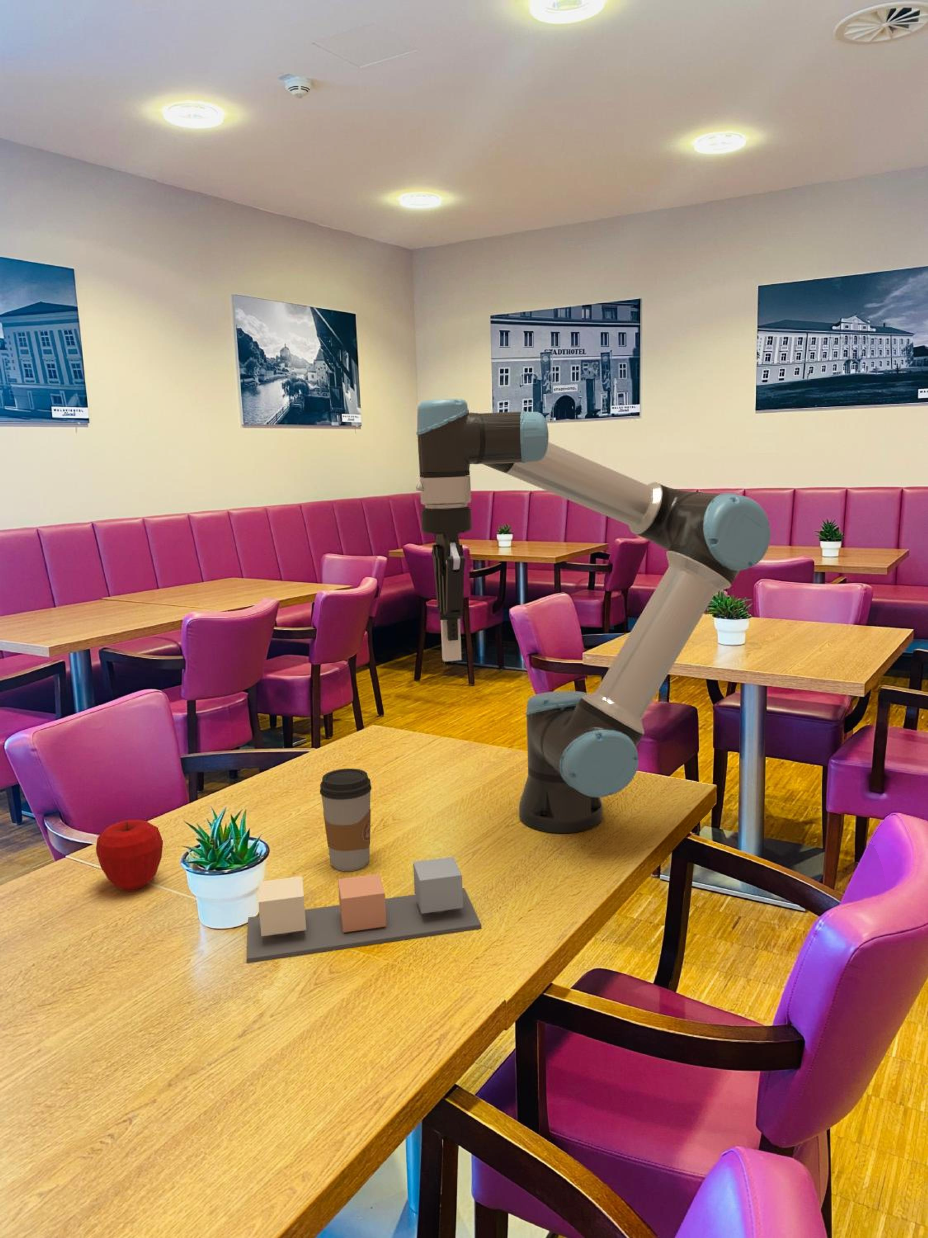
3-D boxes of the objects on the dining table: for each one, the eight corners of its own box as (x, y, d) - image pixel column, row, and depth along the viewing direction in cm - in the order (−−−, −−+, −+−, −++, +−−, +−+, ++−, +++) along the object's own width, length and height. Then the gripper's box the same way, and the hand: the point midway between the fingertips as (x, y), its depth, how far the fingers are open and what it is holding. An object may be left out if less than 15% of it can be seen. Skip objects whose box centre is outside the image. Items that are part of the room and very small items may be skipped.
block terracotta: (381, 905, 129) (379, 873, 128) (386, 926, 123) (384, 893, 122) (339, 911, 127) (337, 879, 127) (343, 932, 122) (341, 899, 121)
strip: (464, 891, 134) (463, 879, 134) (481, 928, 123) (480, 915, 123) (248, 921, 127) (247, 908, 127) (246, 963, 117) (245, 949, 116)
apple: (179, 877, 142) (173, 813, 140) (134, 905, 133) (127, 837, 131) (133, 867, 146) (126, 804, 144) (86, 893, 137) (79, 827, 135)
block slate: (454, 888, 131) (453, 856, 130) (463, 907, 125) (462, 875, 124) (414, 893, 129) (413, 862, 129) (421, 913, 124) (419, 880, 123)
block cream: (304, 908, 126) (302, 876, 125) (306, 930, 120) (303, 896, 119) (261, 914, 125) (258, 881, 124) (261, 936, 119) (258, 902, 118)
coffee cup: (366, 876, 140) (361, 787, 137) (316, 873, 141) (311, 784, 139) (381, 853, 148) (377, 768, 145) (334, 850, 149) (329, 766, 147)
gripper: (413, 504, 137) (420, 652, 141) (429, 509, 124) (436, 671, 129) (460, 502, 139) (466, 649, 143) (480, 506, 126) (485, 667, 130)
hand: (451, 659), depth 136 cm, fingers closed
